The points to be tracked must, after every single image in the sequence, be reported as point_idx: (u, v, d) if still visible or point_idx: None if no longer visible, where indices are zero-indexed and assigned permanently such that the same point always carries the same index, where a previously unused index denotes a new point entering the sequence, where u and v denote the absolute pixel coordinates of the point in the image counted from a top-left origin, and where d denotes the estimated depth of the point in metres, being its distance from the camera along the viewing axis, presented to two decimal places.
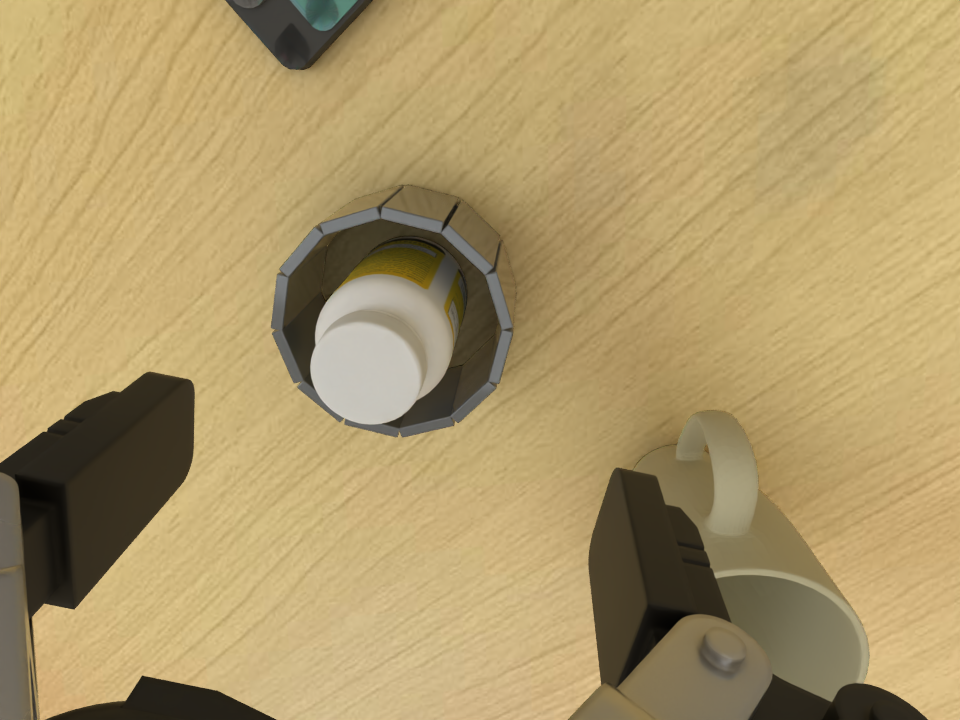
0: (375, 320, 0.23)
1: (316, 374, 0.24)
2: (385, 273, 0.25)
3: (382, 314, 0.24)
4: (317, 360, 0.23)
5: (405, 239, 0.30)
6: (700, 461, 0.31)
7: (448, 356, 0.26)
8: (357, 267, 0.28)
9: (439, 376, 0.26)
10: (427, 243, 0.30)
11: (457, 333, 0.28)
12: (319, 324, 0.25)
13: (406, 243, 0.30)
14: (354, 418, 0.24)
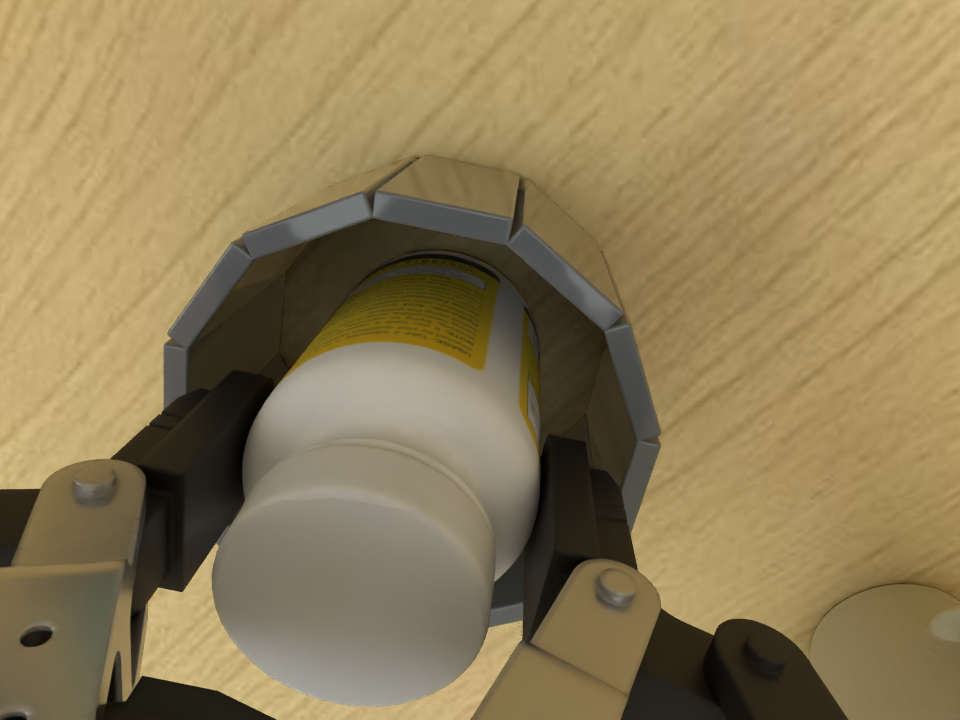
0: (366, 478, 0.09)
1: (228, 606, 0.10)
2: (389, 340, 0.11)
3: (384, 453, 0.09)
4: (227, 576, 0.09)
5: (424, 256, 0.16)
6: None
7: (535, 514, 0.12)
8: (333, 318, 0.14)
9: (515, 556, 0.12)
10: (466, 261, 0.16)
11: None
12: (247, 458, 0.11)
13: (428, 264, 0.16)
14: (328, 695, 0.10)
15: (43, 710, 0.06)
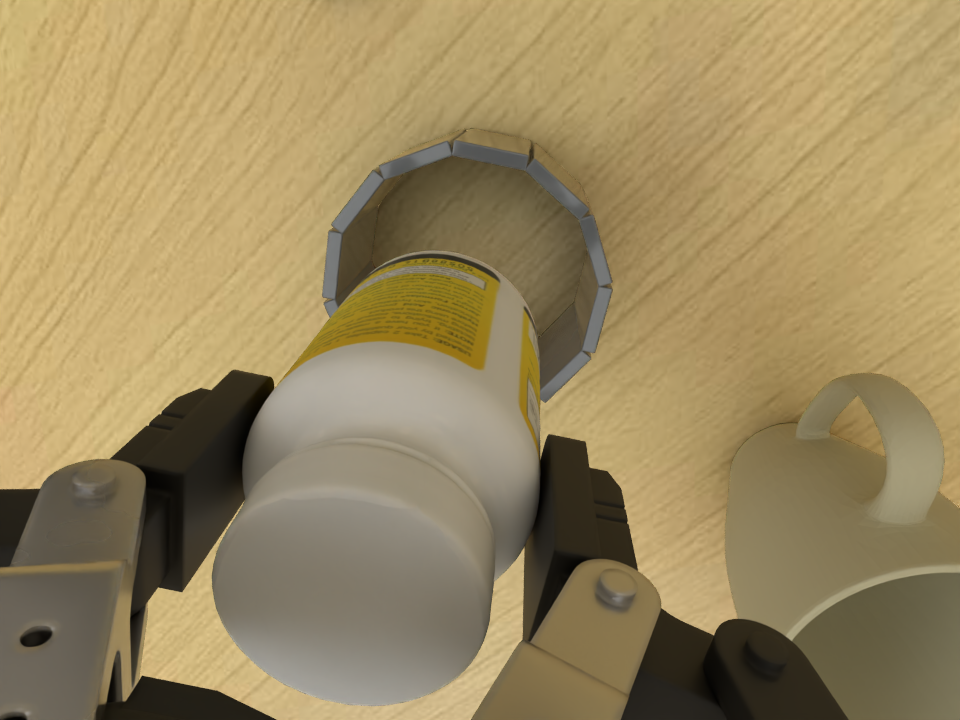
0: (365, 478, 0.09)
1: (228, 606, 0.10)
2: (389, 340, 0.11)
3: (384, 453, 0.10)
4: (228, 576, 0.09)
5: (424, 256, 0.16)
6: (828, 439, 0.26)
7: (535, 513, 0.12)
8: (333, 318, 0.14)
9: (515, 556, 0.12)
10: (466, 261, 0.16)
11: None
12: (247, 458, 0.12)
13: (427, 264, 0.16)
14: (328, 694, 0.10)
15: (43, 710, 0.06)
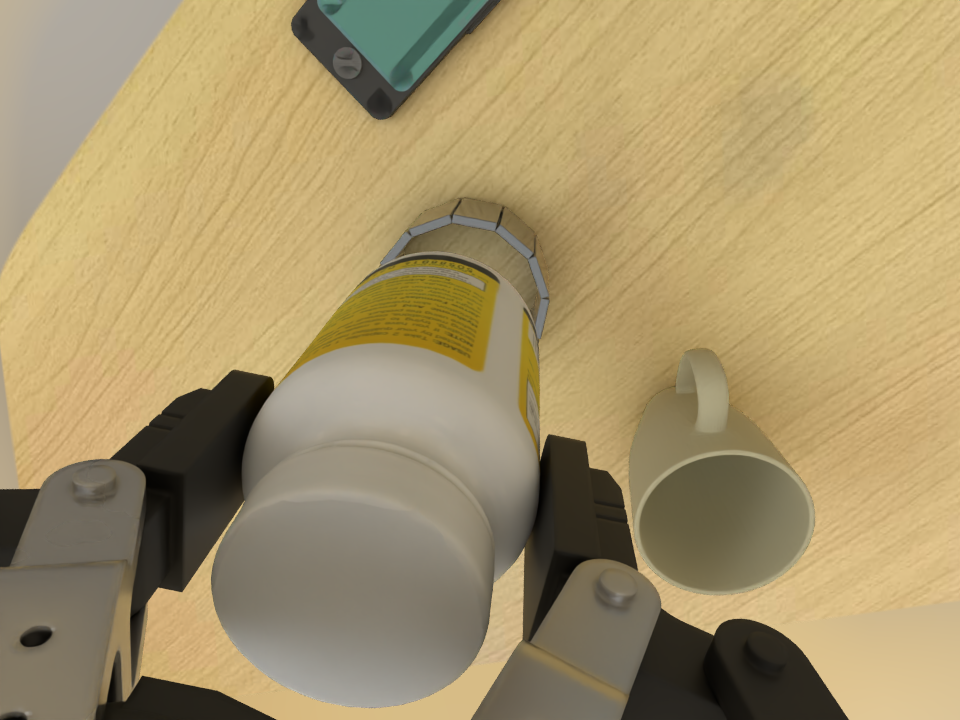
0: (365, 479, 0.09)
1: (227, 607, 0.10)
2: (388, 341, 0.11)
3: (383, 455, 0.09)
4: (226, 578, 0.09)
5: (424, 257, 0.16)
6: (694, 393, 0.41)
7: (534, 515, 0.12)
8: (332, 319, 0.14)
9: (514, 557, 0.12)
10: (466, 262, 0.16)
11: None
12: (246, 459, 0.11)
13: (427, 265, 0.16)
14: (327, 696, 0.10)
15: (43, 710, 0.06)
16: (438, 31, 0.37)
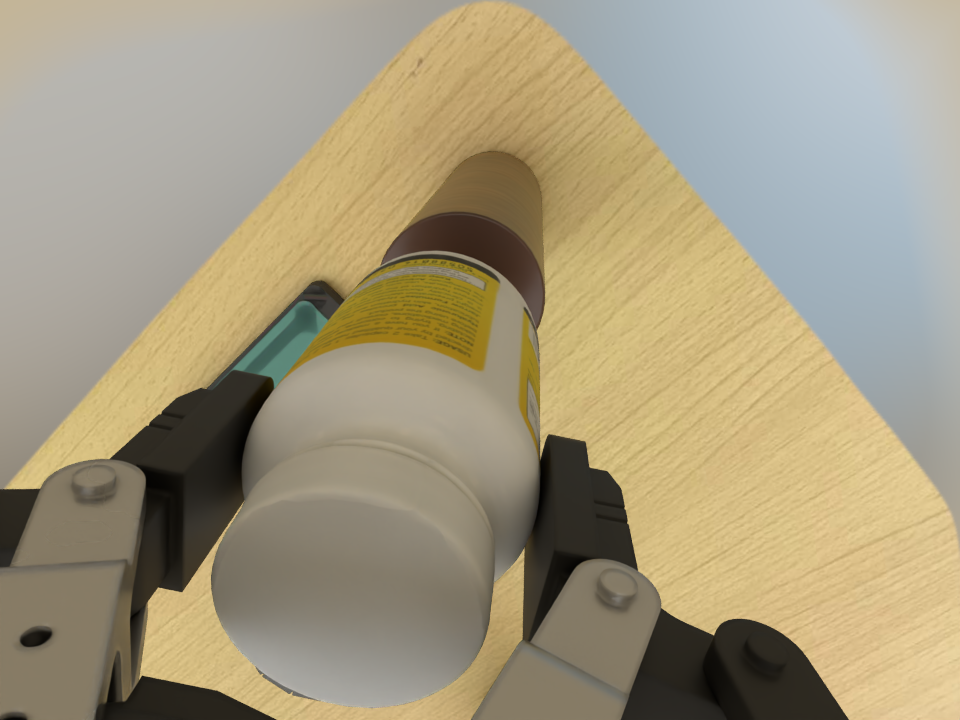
0: (365, 479, 0.09)
1: (228, 607, 0.10)
2: (389, 341, 0.11)
3: (384, 454, 0.09)
4: (226, 578, 0.09)
5: (424, 257, 0.16)
6: None
7: (534, 515, 0.12)
8: (333, 319, 0.14)
9: (515, 557, 0.12)
10: (466, 262, 0.16)
11: None
12: (246, 459, 0.11)
13: (427, 265, 0.16)
14: (328, 696, 0.10)
15: (43, 710, 0.06)
16: None
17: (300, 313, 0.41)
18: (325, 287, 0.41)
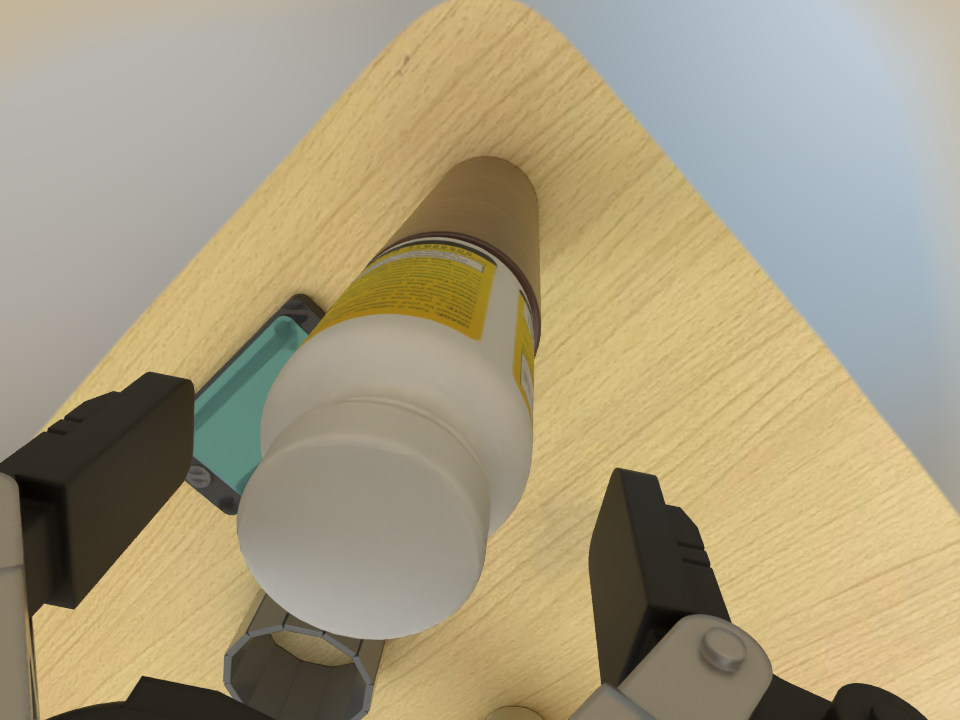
0: (375, 428, 0.10)
1: (251, 546, 0.11)
2: (394, 313, 0.12)
3: (391, 409, 0.11)
4: (251, 518, 0.10)
5: (426, 242, 0.17)
6: None
7: (527, 472, 0.13)
8: (342, 297, 0.15)
9: (509, 511, 0.13)
10: (465, 246, 0.18)
11: None
12: (265, 420, 0.13)
13: (429, 249, 0.17)
14: (340, 629, 0.11)
15: None
16: None
17: (280, 329, 0.38)
18: (306, 301, 0.38)
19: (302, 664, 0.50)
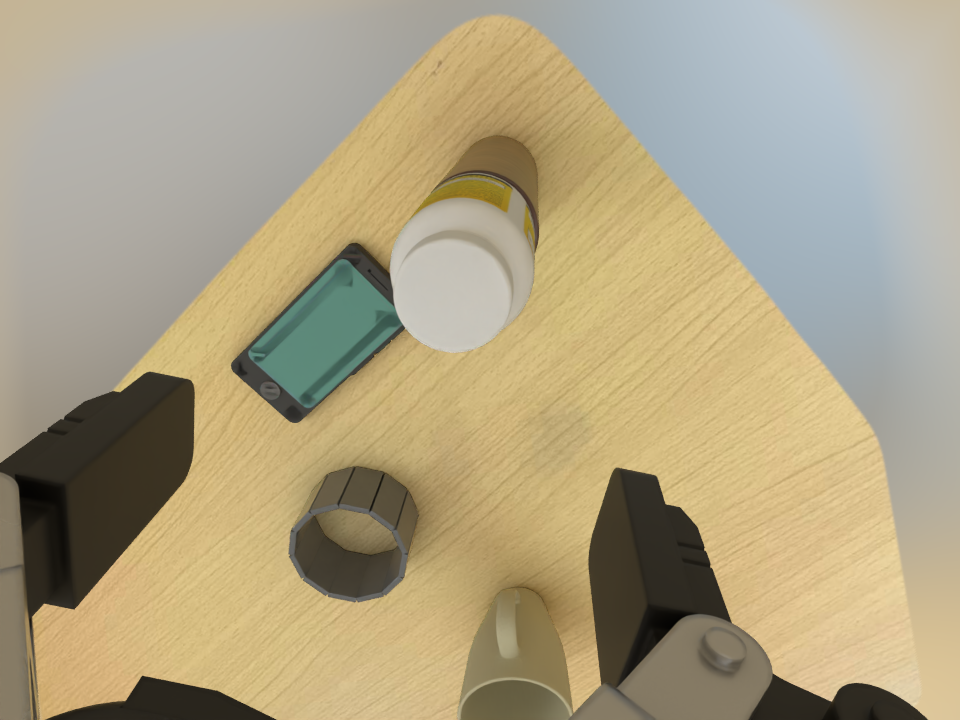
0: (461, 237, 0.22)
1: (399, 299, 0.22)
2: (462, 197, 0.24)
3: (467, 233, 0.22)
4: (401, 283, 0.22)
5: (470, 174, 0.29)
6: (518, 604, 0.58)
7: (531, 282, 0.25)
8: (426, 200, 0.27)
9: (522, 304, 0.25)
10: (493, 177, 0.29)
11: None
12: (395, 253, 0.24)
13: (473, 177, 0.28)
14: (439, 346, 0.23)
15: None
16: (331, 375, 0.54)
17: (339, 269, 0.50)
18: (360, 248, 0.50)
19: (346, 552, 0.61)
